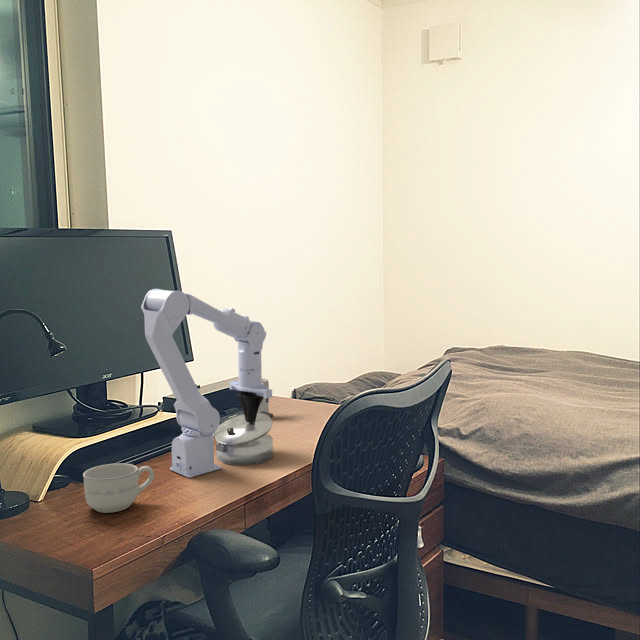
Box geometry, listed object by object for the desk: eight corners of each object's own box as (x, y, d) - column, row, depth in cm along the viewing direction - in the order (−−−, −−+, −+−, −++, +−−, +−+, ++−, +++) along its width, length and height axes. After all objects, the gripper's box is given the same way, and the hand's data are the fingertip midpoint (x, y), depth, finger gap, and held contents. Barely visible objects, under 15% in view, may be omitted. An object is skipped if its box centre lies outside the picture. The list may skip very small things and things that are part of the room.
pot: (237, 470, 165) (237, 451, 164) (202, 456, 175) (202, 439, 174) (284, 456, 175) (284, 439, 175) (248, 444, 185) (248, 428, 184)
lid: (240, 450, 164) (237, 442, 164) (203, 437, 175) (201, 430, 174) (287, 420, 174) (285, 413, 174) (250, 410, 185) (248, 402, 184)
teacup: (82, 520, 135) (81, 480, 134) (85, 500, 145) (83, 463, 144) (156, 513, 139) (155, 474, 138) (153, 494, 149) (152, 457, 148)
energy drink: (270, 417, 213) (270, 378, 212) (267, 421, 208) (266, 382, 207) (252, 416, 214) (252, 378, 212) (249, 421, 209) (249, 381, 207)
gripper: (281, 370, 172) (281, 423, 173) (244, 362, 182) (244, 413, 183) (259, 374, 167) (260, 429, 168) (222, 366, 177) (223, 418, 178)
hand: (250, 421), depth 176 cm, fingers closed, pressing on lid
